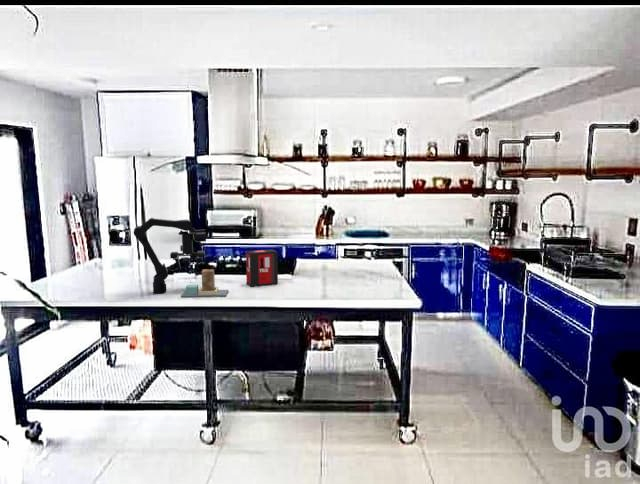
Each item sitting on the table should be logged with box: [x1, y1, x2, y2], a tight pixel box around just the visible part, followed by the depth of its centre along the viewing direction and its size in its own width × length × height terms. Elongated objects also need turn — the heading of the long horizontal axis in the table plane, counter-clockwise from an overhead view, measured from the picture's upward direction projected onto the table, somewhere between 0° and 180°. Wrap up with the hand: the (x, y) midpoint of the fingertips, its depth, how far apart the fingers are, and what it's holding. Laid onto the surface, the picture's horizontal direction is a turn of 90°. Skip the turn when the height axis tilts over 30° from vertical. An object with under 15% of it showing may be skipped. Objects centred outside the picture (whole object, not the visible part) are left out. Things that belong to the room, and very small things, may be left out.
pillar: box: [201, 268, 216, 291], centre depth 281 cm, size 6×6×12 cm
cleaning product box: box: [245, 249, 279, 288], centre depth 306 cm, size 16×9×20 cm, turn 115°
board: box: [180, 284, 229, 299], centre depth 282 cm, size 24×12×5 cm, turn 95°
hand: (188, 269), depth 290 cm, fingers open, 9 cm apart
